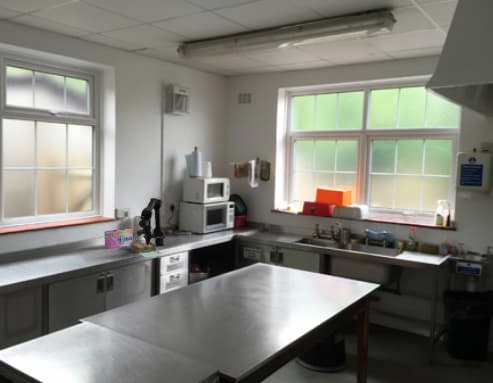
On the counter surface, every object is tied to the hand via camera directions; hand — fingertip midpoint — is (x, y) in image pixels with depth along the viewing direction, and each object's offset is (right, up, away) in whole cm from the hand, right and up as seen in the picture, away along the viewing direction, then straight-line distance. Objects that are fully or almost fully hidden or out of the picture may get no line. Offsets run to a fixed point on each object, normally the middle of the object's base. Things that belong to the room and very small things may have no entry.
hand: (147, 245), depth 346 cm
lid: (+3, -7, -4) cm, 9 cm away
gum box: (-30, -4, +26) cm, 40 cm away
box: (-6, -5, +12) cm, 14 cm away
